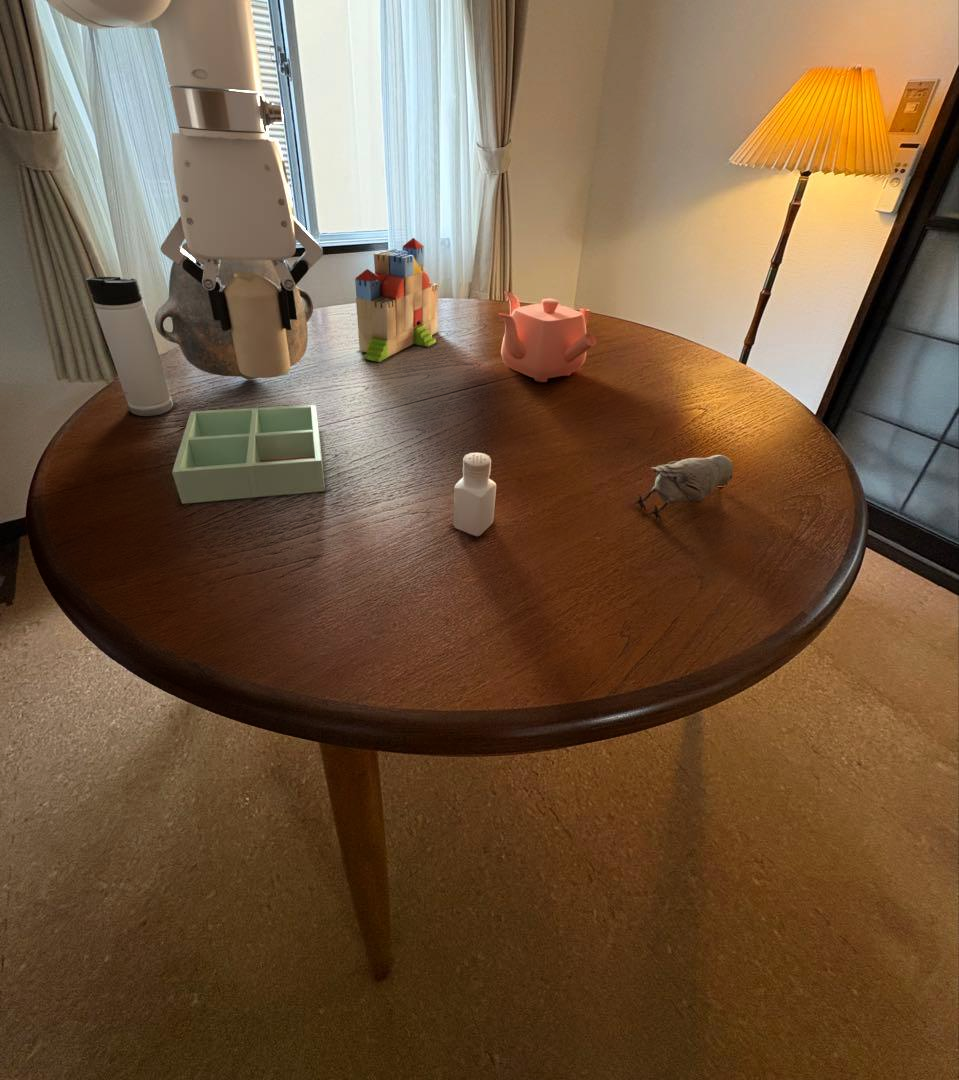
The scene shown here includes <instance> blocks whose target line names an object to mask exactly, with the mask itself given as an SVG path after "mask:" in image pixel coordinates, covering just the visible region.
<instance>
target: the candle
mask: <svg viewBox="0 0 959 1080" xmlns="http://www.w3.org/2000/svg"><path fill="white" fill-rule="evenodd" d="M223 291H224V297H225V302H226V307H227V312H228V317H229V322H230V327H231V332H232V337H233V342H234V347H235V352H236V357H237V362H238V366H239V370H240V372H241V373H242V374H243V375H245V376H249V377H254V378H256V379H268V378H276V377H281V376H283V375H285V374H287V373H289V372H290V371H291V367H290V358H289V351H288V344H287V337H286V330H285V329H284V323H283V317H282V310H281V303H280V296H279V287H277V286H276V285H275V284H274V283H273V282H271V281H270V280H269V279H267V278H266V277H265V276H259V275H257V274H250V273H247V272H244V271H241V272H239V273H236V274H234V275H233V276H232V278H231V279H230V281H229V282H228V283H227V285H226V286H225V288H224V289H223Z"/></svg>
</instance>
